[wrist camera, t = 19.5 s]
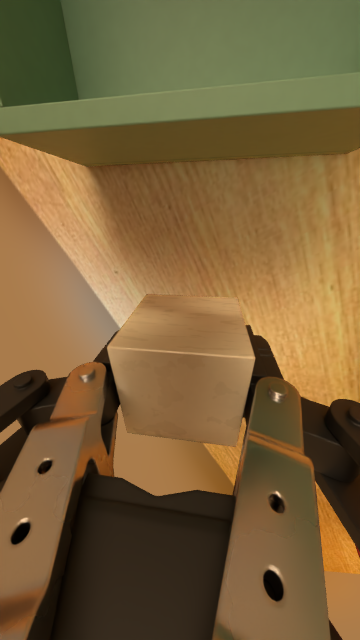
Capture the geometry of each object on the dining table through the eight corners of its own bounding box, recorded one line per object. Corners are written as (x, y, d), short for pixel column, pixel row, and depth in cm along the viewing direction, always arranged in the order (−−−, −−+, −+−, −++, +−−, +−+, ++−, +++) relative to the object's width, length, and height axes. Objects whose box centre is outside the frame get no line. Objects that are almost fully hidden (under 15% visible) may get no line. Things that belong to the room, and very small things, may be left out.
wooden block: (153, 362, 12) (126, 433, 8) (146, 293, 10) (105, 347, 6) (228, 368, 12) (236, 447, 8) (237, 296, 9) (256, 357, 6)
